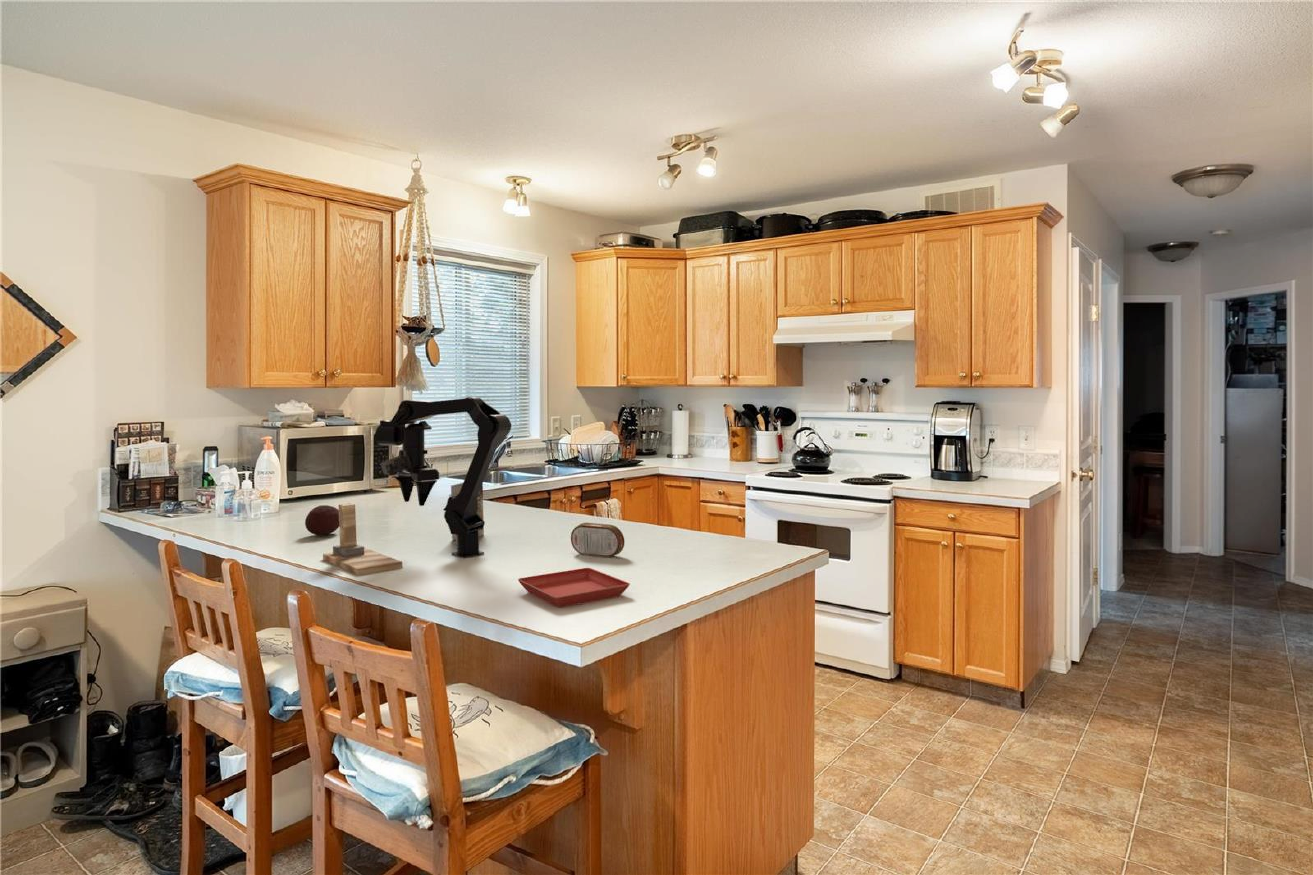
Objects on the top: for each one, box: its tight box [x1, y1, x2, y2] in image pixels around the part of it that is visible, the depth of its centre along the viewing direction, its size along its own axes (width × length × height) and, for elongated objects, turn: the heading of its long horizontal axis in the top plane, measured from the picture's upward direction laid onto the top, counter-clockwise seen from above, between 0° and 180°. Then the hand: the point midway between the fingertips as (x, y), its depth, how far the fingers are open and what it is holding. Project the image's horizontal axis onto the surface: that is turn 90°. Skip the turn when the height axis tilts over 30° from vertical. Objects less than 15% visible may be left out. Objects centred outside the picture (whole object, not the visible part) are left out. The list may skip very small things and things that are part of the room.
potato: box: [304, 504, 339, 537], centre depth 238 cm, size 9×12×9 cm
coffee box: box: [450, 482, 485, 541], centre depth 232 cm, size 9×6×16 cm
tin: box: [570, 522, 625, 558], centre depth 205 cm, size 15×3×8 cm, turn 65°
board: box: [322, 547, 403, 576], centre depth 199 cm, size 24×11×2 cm, turn 42°
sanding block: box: [332, 502, 365, 557], centre depth 203 cm, size 7×5×13 cm
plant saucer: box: [517, 567, 631, 608], centre depth 167 cm, size 18×18×3 cm
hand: (414, 503), depth 212 cm, fingers open, 9 cm apart
